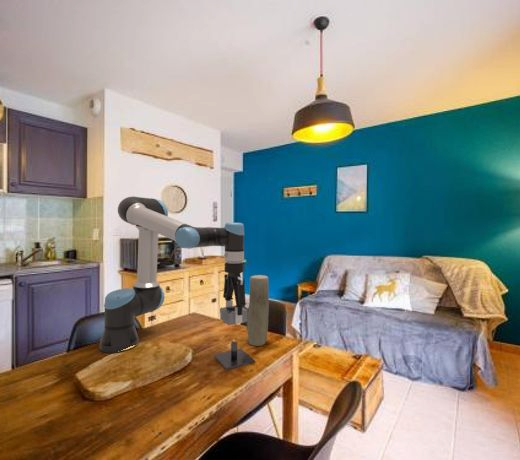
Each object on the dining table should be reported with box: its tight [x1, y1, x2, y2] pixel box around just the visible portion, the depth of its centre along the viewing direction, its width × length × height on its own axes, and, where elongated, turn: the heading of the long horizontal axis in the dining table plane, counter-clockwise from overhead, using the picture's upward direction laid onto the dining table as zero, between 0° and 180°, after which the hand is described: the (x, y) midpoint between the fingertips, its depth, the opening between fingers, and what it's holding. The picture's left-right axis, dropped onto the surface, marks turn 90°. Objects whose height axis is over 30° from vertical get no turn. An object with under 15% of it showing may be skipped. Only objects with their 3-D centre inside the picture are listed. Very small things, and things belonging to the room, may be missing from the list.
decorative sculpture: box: [242, 274, 270, 347], centre depth 128 cm, size 14×10×30 cm
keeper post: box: [213, 337, 256, 371], centre depth 111 cm, size 12×12×8 cm
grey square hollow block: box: [219, 305, 249, 326], centre depth 110 cm, size 8×8×4 cm
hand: (233, 319), depth 110 cm, fingers closed on grey square hollow block, 8 cm apart
